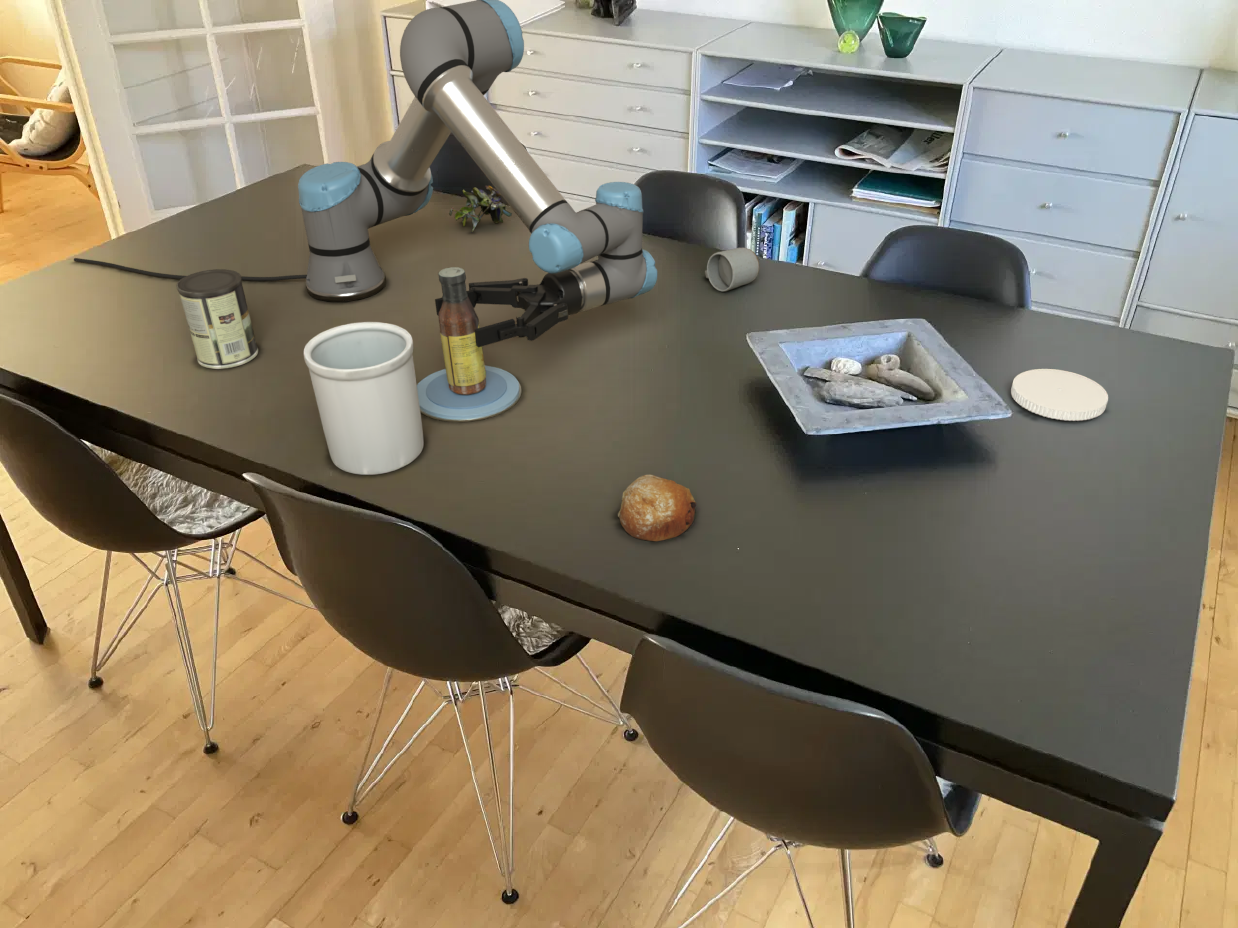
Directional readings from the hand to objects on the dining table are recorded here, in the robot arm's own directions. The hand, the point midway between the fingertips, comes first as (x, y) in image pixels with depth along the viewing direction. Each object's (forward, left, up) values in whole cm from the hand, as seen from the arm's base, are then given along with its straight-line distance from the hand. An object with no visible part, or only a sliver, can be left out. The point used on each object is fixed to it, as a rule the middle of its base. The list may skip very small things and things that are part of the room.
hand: (455, 322), depth 153 cm
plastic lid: (+88, +33, -13) cm, 95 cm away
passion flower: (-37, +69, -13) cm, 80 cm away
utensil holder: (-3, -20, -13) cm, 24 cm away
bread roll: (+41, -20, -13) cm, 48 cm away
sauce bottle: (0, 0, -12) cm, 12 cm away
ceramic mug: (+25, +59, -13) cm, 66 cm away
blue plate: (0, 0, -13) cm, 13 cm away
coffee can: (-46, -4, -13) cm, 48 cm away
